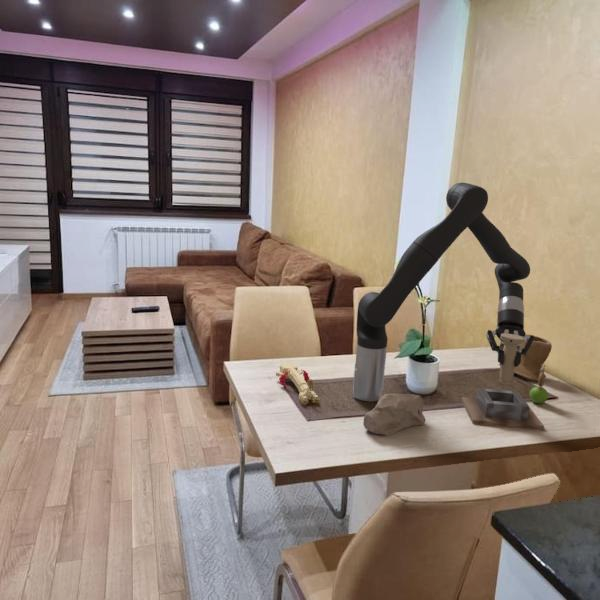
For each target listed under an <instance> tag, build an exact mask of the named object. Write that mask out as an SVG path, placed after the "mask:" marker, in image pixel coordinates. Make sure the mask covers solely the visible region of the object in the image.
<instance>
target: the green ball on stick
mask: <svg viewBox="0 0 600 600" xmlns="http://www.w3.org/2000/svg"><path fill="white" fill-rule="evenodd" d="M541 366H542V367H541V370H540V375H539V378H538V380H537V385H536V386H534V387H532V388H531V389H530V391H529V395H528V396H529V399H530V400H531V401H532V402H533V403H535V404H538V405H540V404H541V405H542V404H544V403H546V402H547V401H548V398H549V394H548V391H547V390H546V389H545V388H544V387H543V386H544V381H545V378H544V374H545V367H546V364H542V365H541Z"/></svg>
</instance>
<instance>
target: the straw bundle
mask: <svg viewBox="0 0 600 600" xmlns="http://www.w3.org/2000/svg"><path fill="white" fill-rule="evenodd" d="M275 376H276V377H279V378H278V380H279V383H280V384H281V385H282V386H283V387H286V383H285V382H286V380H290V381H291V382H292V383H293V384H294V386H295V387H296V388H297V391H298V392H299V394H298V399H299V400H300V404H301V405H303V404H305V403H308V404H309V401H310V400H311V403H312V404H314V403H317V404H319V403H320V401H321V400H320V398H319V395H317V394H316V392H315V391H314V383H313V379H312V378H310V376H309V373H308V372H306V370H304V369H298V366H297V365H296V364H295V363H294V362H293V363H282V364H281V365H280V366H279V371H278V372H275Z"/></svg>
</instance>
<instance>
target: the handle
mask: <svg viewBox="0 0 600 600" xmlns="http://www.w3.org/2000/svg"><path fill="white" fill-rule="evenodd" d="M500 339H501V340H502V341H503V342H505V345H504V349H503V351H504V362H503V365H501V366H499V384H500V385H502V386H507V387H508V386H511V384H512V380H513V378H514V375H515V373H514V370H515V359H516V351H517V346H518V345H519V344H522V343H523V342H524V337H522V336H519V335H514V334H507V333H502V334H501V337H500ZM500 339H499V340H500Z"/></svg>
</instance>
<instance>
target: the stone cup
mask: <svg viewBox="0 0 600 600" xmlns="http://www.w3.org/2000/svg"><path fill="white" fill-rule="evenodd" d="M527 335H529V336H531V335H532V334H527ZM533 336H534V340H533V342H532V344H531V346H530V348H529V350H528V352H527V354H526V355H521V363H520V365H518V366H517V367H515V370H514V375H515V374H516V375H518V376H519V377H522V378H526V379H528V380H531V381H538V378H539V375H540V370H541V368H543V366H541V365H542V364H543V365H545V362H546V361H547V359H548V358H549V355H550V353H551V350H552V349H553V347H552V343H551V341H550V340H548V339H545V338H542V337H540V336H536V335H533ZM526 344H527V343H526V342H525V338H524V342H523V343H522V344H520V346H521V349H524V348H525V346H526ZM498 365H499V367H500V366H501V365H500V363H499V364H498ZM544 379H546V374H545V373H544Z"/></svg>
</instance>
